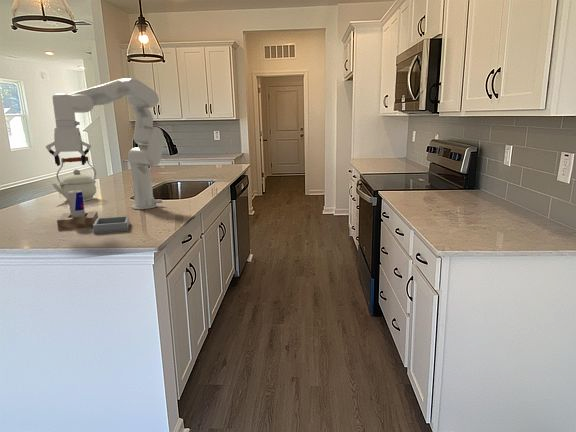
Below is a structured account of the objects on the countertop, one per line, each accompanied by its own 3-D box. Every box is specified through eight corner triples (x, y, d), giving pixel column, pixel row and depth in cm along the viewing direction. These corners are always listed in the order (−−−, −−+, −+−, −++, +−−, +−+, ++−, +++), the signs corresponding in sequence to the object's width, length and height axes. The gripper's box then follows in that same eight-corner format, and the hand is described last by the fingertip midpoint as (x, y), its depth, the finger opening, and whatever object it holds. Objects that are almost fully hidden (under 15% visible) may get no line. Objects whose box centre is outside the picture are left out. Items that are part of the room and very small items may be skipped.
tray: (129, 223, 180) (128, 215, 179) (127, 230, 168) (127, 222, 167) (98, 225, 176) (97, 218, 175) (93, 233, 164) (92, 225, 163)
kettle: (91, 195, 251) (86, 155, 245) (105, 198, 239) (101, 156, 233) (48, 201, 232) (41, 158, 226) (61, 205, 220) (55, 159, 215)
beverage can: (80, 226, 176) (75, 192, 173) (69, 225, 177) (64, 191, 174) (88, 222, 182) (84, 190, 178) (78, 222, 183) (73, 189, 179)
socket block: (98, 219, 188) (97, 211, 187) (94, 226, 175) (93, 217, 174) (64, 221, 184) (63, 213, 183) (58, 229, 171) (56, 220, 170)
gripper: (89, 124, 176) (94, 163, 180) (45, 124, 171) (50, 165, 174) (87, 124, 169) (91, 165, 173) (40, 124, 164) (46, 166, 167)
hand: (71, 165), depth 173 cm, fingers open, 9 cm apart
